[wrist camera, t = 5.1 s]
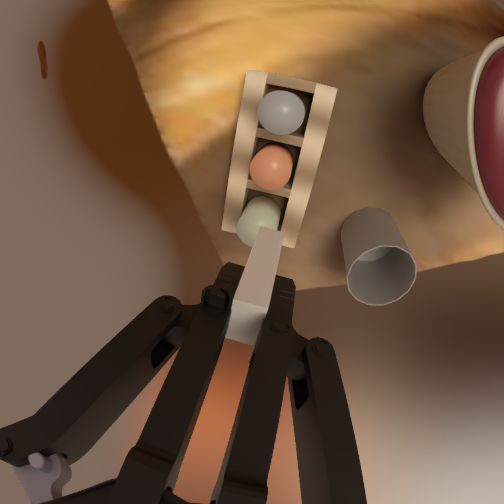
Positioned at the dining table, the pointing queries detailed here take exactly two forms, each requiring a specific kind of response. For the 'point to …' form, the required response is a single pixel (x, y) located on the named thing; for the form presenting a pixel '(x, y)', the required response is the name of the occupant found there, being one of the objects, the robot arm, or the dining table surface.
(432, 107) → the canister
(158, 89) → the dining table surface
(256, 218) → the pale green egg
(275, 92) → the grey egg
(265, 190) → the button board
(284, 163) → the brown egg
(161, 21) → the dining table surface
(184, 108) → the dining table surface
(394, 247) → the cup
